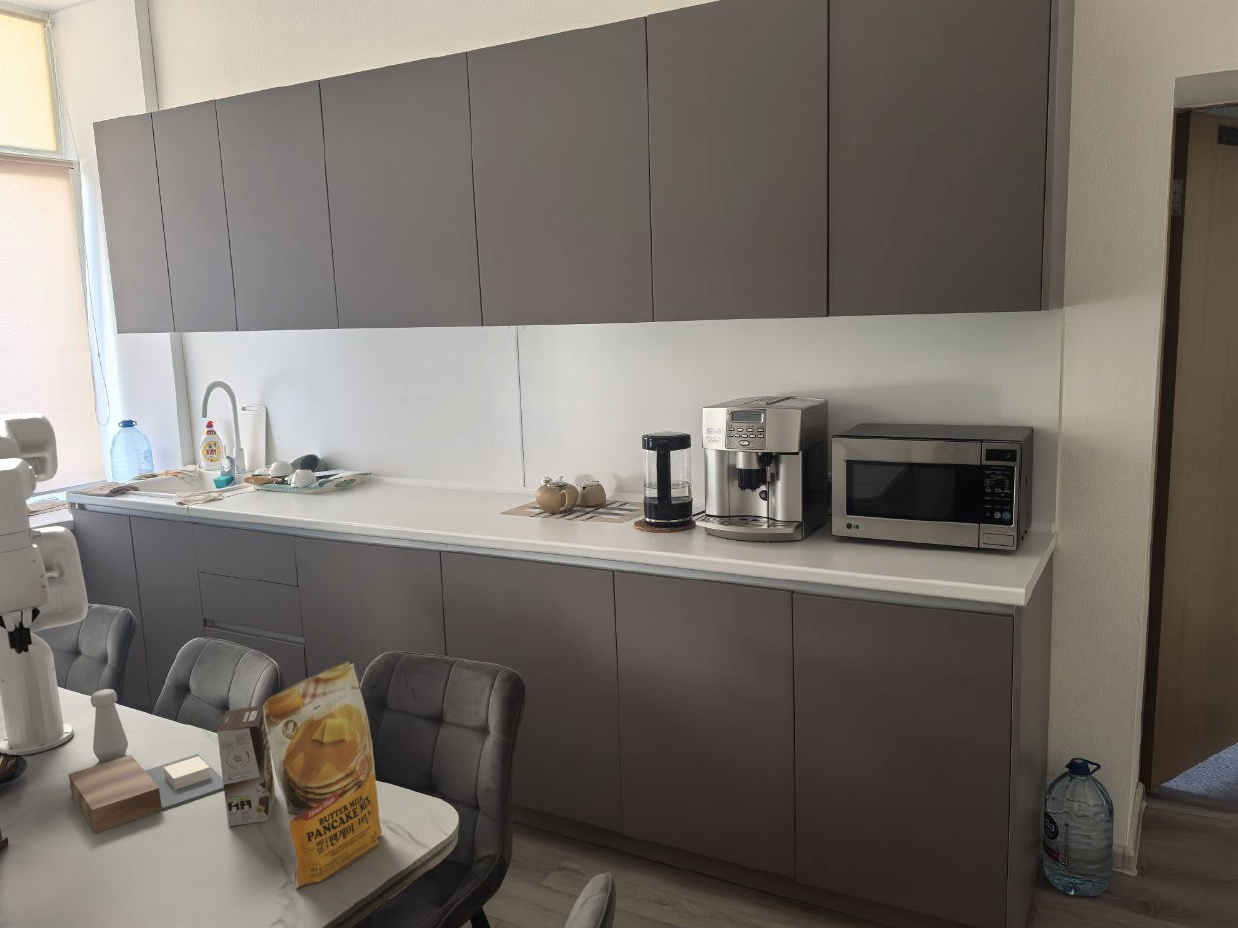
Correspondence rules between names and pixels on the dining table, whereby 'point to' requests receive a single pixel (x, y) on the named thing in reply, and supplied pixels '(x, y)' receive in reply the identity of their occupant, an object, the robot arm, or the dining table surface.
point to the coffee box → (246, 766)
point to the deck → (114, 793)
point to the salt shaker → (108, 727)
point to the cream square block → (187, 772)
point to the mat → (186, 793)
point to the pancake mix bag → (325, 770)
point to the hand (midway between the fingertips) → (21, 650)
